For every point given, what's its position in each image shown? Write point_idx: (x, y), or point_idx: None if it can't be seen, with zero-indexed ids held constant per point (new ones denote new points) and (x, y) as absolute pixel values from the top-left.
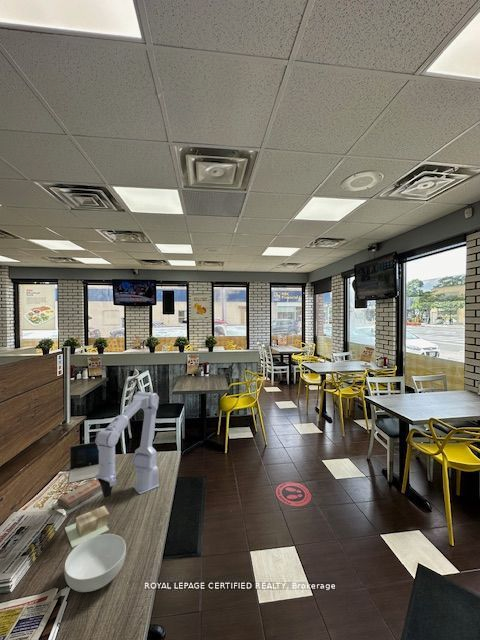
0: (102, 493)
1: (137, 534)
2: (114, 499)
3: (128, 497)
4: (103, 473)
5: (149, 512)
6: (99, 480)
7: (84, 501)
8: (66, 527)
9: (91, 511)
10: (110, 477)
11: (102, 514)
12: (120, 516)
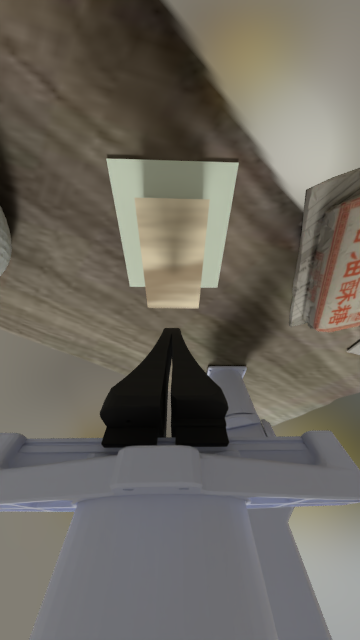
0: (290, 317)
1: (84, 325)
2: (239, 329)
3: (219, 350)
4: (53, 593)
5: (141, 359)
6: (177, 402)
7: (308, 269)
8: (233, 170)
9: (199, 266)
10: (35, 508)
11: (156, 290)
12: (166, 320)
